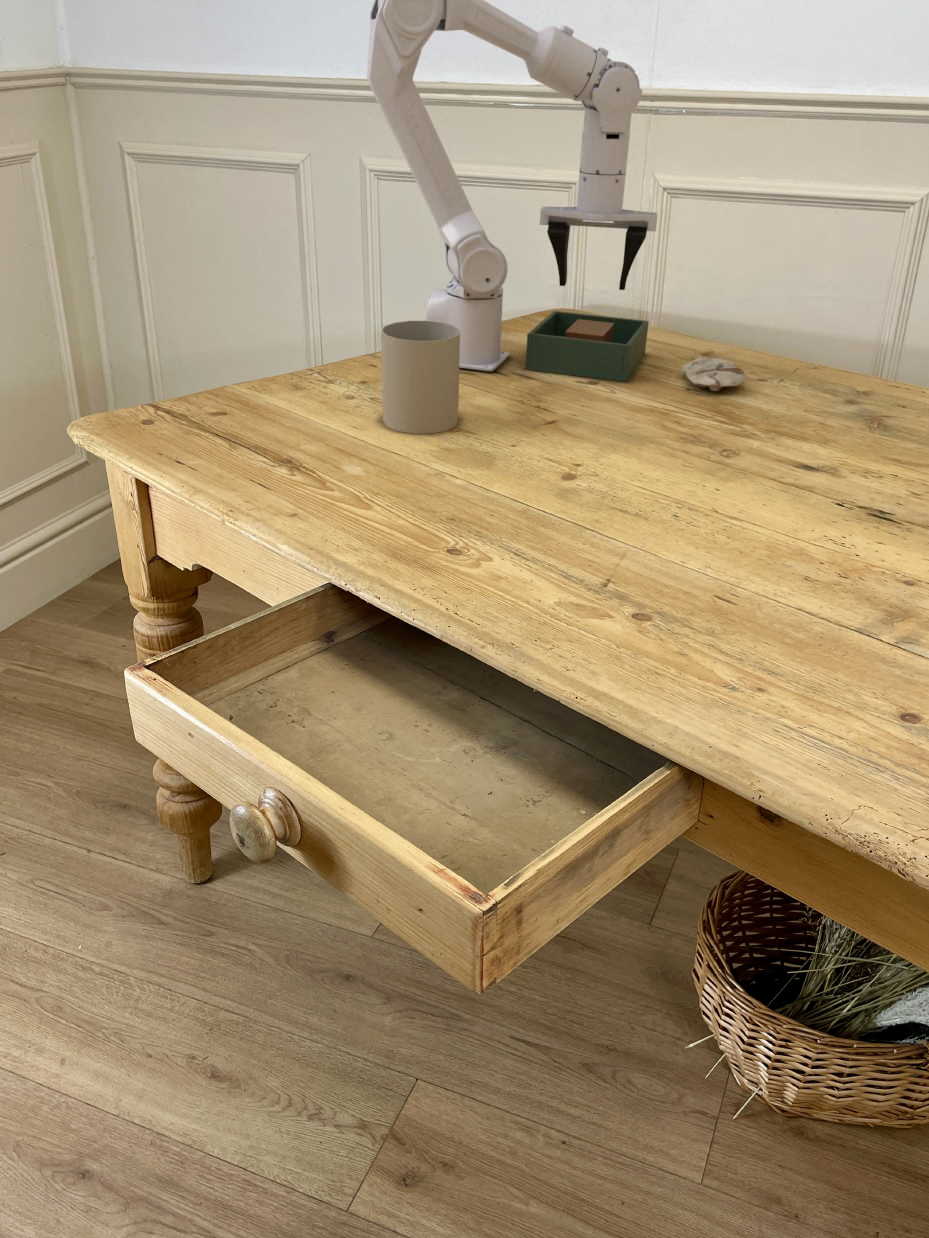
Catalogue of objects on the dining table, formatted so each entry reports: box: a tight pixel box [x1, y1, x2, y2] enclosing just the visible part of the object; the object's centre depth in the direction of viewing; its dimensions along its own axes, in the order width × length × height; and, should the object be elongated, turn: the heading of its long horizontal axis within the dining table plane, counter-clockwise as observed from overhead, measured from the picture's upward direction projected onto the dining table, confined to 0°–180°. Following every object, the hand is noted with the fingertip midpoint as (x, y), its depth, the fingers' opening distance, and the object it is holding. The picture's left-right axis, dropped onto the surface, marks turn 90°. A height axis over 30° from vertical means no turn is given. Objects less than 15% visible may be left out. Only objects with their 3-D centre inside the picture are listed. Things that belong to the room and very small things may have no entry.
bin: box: [524, 310, 649, 383], centre depth 131 cm, size 13×13×5 cm
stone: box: [681, 354, 747, 392], centre depth 125 cm, size 10×7×3 cm
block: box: [565, 319, 614, 342], centre depth 131 cm, size 5×7×4 cm
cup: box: [380, 320, 460, 435], centre depth 108 cm, size 8×8×10 cm
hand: (592, 286), depth 129 cm, fingers open, 7 cm apart
